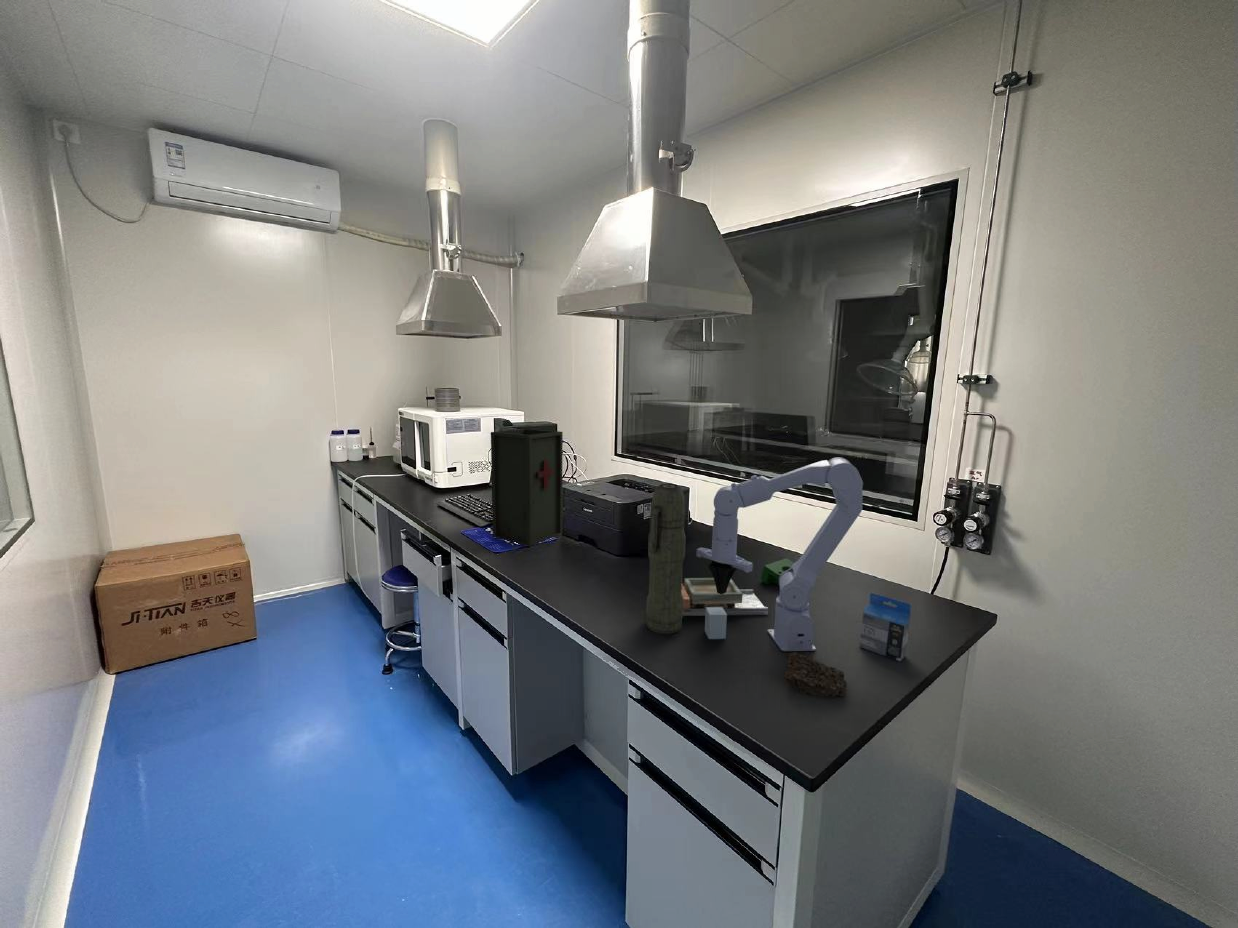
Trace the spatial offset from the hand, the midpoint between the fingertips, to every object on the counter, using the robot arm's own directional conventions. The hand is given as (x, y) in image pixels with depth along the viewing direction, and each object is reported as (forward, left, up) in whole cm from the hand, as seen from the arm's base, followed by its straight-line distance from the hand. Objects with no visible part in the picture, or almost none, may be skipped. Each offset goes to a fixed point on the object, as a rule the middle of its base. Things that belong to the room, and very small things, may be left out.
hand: (721, 592), depth 123 cm
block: (-3, +2, -10) cm, 10 cm away
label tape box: (-12, -34, -10) cm, 37 cm away
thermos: (+3, +13, -10) cm, 17 cm away
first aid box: (+75, +54, -10) cm, 93 cm away
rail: (+13, -4, -9) cm, 17 cm away
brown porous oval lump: (-24, -13, -10) cm, 29 cm away
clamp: (+29, -27, -10) cm, 40 cm away
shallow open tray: (+13, -1, -8) cm, 16 cm away
